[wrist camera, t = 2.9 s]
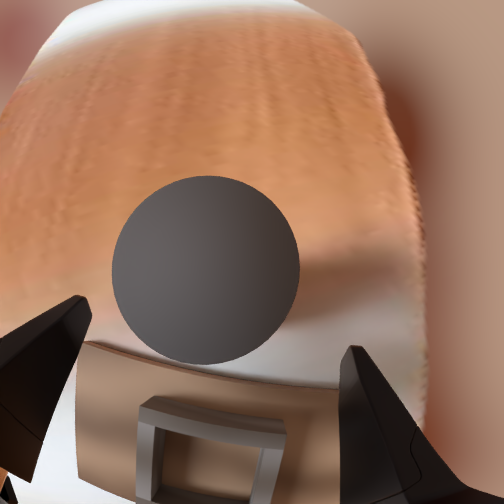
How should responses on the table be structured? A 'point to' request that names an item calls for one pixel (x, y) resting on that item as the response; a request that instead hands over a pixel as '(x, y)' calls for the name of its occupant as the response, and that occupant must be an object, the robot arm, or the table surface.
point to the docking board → (201, 435)
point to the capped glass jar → (205, 270)
